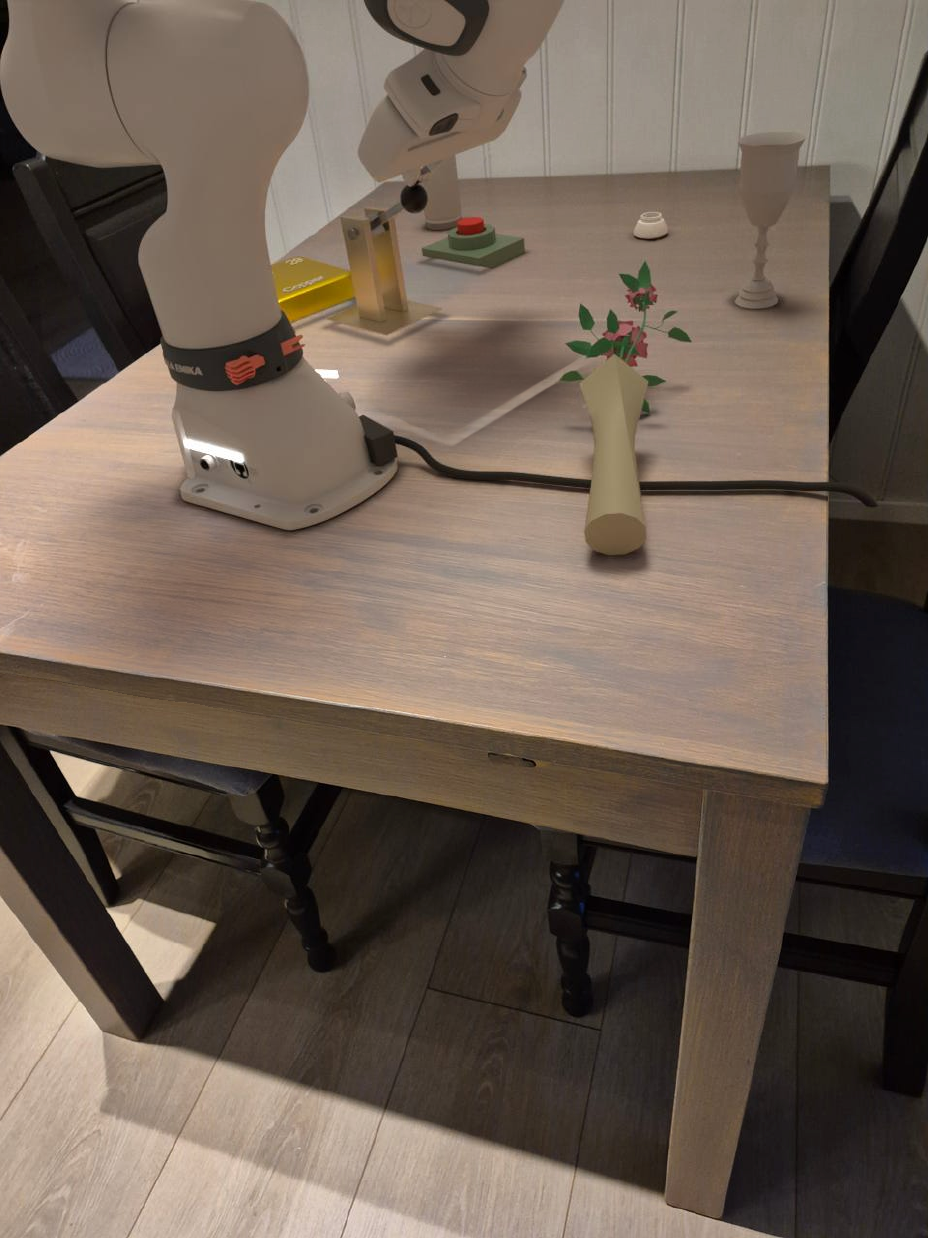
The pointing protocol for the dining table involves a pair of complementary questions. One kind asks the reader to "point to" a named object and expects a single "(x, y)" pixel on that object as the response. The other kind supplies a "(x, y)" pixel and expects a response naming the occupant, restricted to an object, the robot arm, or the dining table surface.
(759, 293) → the chalice
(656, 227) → the white jar
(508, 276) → the dining table surface
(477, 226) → the button
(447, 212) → the travel mug
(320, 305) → the element tile
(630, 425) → the flower vase
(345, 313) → the bracket
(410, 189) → the lever
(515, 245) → the button block
